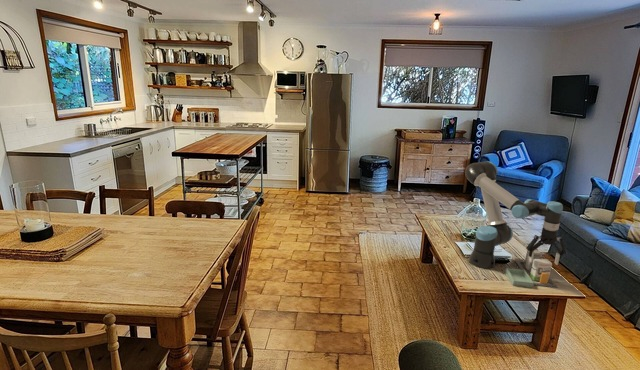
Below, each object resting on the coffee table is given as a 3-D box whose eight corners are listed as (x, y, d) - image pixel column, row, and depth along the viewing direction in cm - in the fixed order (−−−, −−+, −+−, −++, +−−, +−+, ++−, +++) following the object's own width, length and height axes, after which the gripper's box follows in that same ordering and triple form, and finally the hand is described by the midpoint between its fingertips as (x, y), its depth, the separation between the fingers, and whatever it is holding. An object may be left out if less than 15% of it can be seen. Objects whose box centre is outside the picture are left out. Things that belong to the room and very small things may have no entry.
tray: (512, 285, 206) (513, 280, 205) (504, 272, 220) (505, 268, 219) (532, 287, 204) (533, 283, 203) (523, 274, 218) (524, 270, 217)
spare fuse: (529, 271, 221) (533, 254, 218) (524, 264, 230) (527, 247, 226) (538, 272, 220) (542, 255, 217) (532, 265, 229) (536, 248, 225)
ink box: (533, 280, 211) (537, 262, 208) (529, 276, 216) (533, 258, 213) (548, 281, 211) (552, 263, 208) (543, 276, 216) (547, 259, 213)
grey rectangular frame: (531, 284, 207) (534, 274, 205) (515, 261, 234) (517, 251, 232) (557, 287, 205) (560, 276, 203) (537, 263, 232) (540, 253, 230)
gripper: (528, 229, 203) (522, 263, 209) (577, 233, 199) (569, 268, 205) (524, 224, 210) (517, 257, 216) (571, 228, 206) (563, 261, 212)
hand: (543, 262), depth 210 cm, fingers open, 13 cm apart
